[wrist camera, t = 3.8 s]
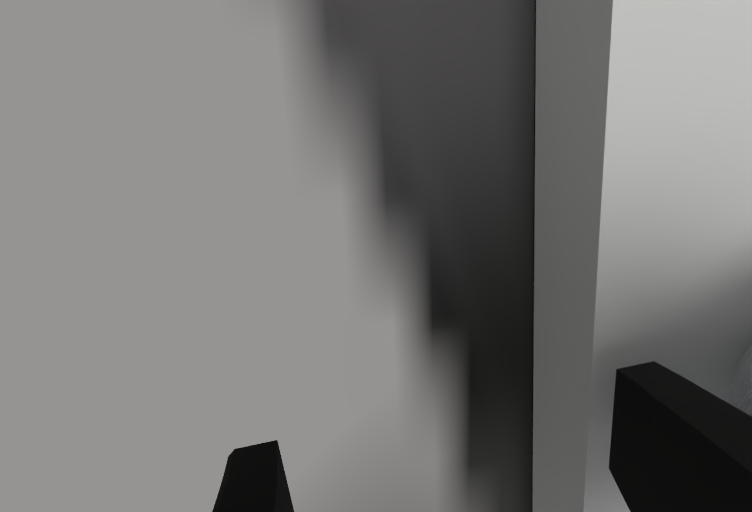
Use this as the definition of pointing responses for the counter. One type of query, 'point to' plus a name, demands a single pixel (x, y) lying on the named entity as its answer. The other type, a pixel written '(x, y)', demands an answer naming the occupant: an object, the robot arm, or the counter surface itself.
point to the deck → (635, 218)
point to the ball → (742, 385)
